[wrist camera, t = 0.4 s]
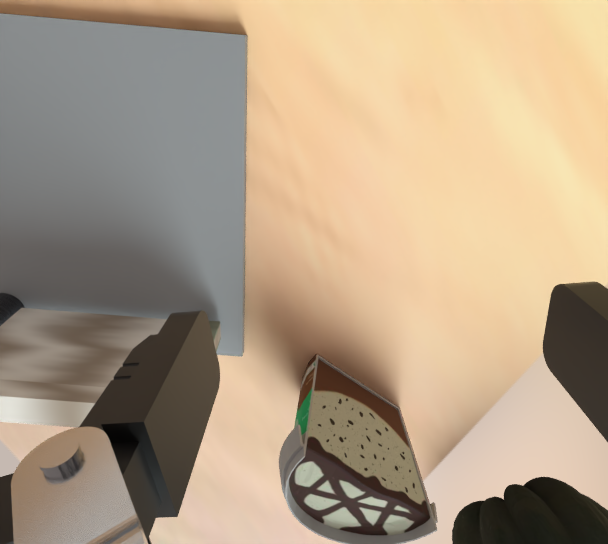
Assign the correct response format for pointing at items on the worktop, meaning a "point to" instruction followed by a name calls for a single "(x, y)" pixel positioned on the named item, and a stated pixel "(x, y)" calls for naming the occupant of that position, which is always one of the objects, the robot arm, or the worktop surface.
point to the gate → (65, 361)
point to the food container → (352, 464)
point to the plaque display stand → (123, 171)
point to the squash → (533, 517)
